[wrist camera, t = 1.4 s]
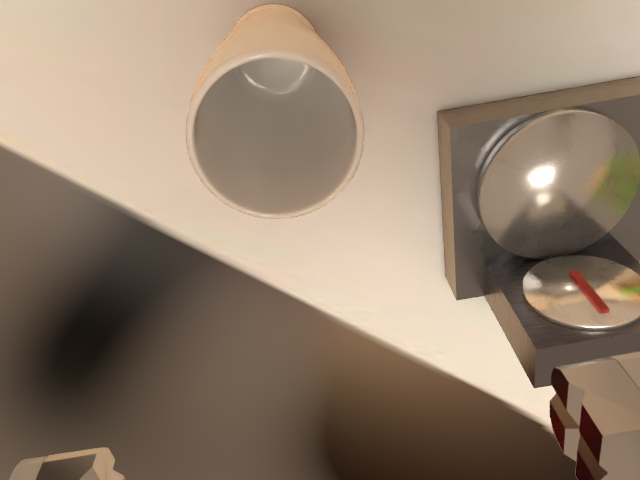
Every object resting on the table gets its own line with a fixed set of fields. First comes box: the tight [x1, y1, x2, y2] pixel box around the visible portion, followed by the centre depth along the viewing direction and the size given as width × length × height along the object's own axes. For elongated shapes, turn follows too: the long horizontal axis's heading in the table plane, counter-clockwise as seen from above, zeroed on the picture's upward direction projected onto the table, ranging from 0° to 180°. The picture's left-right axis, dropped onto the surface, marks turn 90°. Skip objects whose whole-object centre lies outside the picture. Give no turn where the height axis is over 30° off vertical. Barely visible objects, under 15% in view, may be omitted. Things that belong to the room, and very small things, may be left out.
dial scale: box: [437, 76, 640, 388], centre depth 35 cm, size 13×13×12 cm
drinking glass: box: [186, 4, 364, 219], centre depth 28 cm, size 7×7×15 cm
